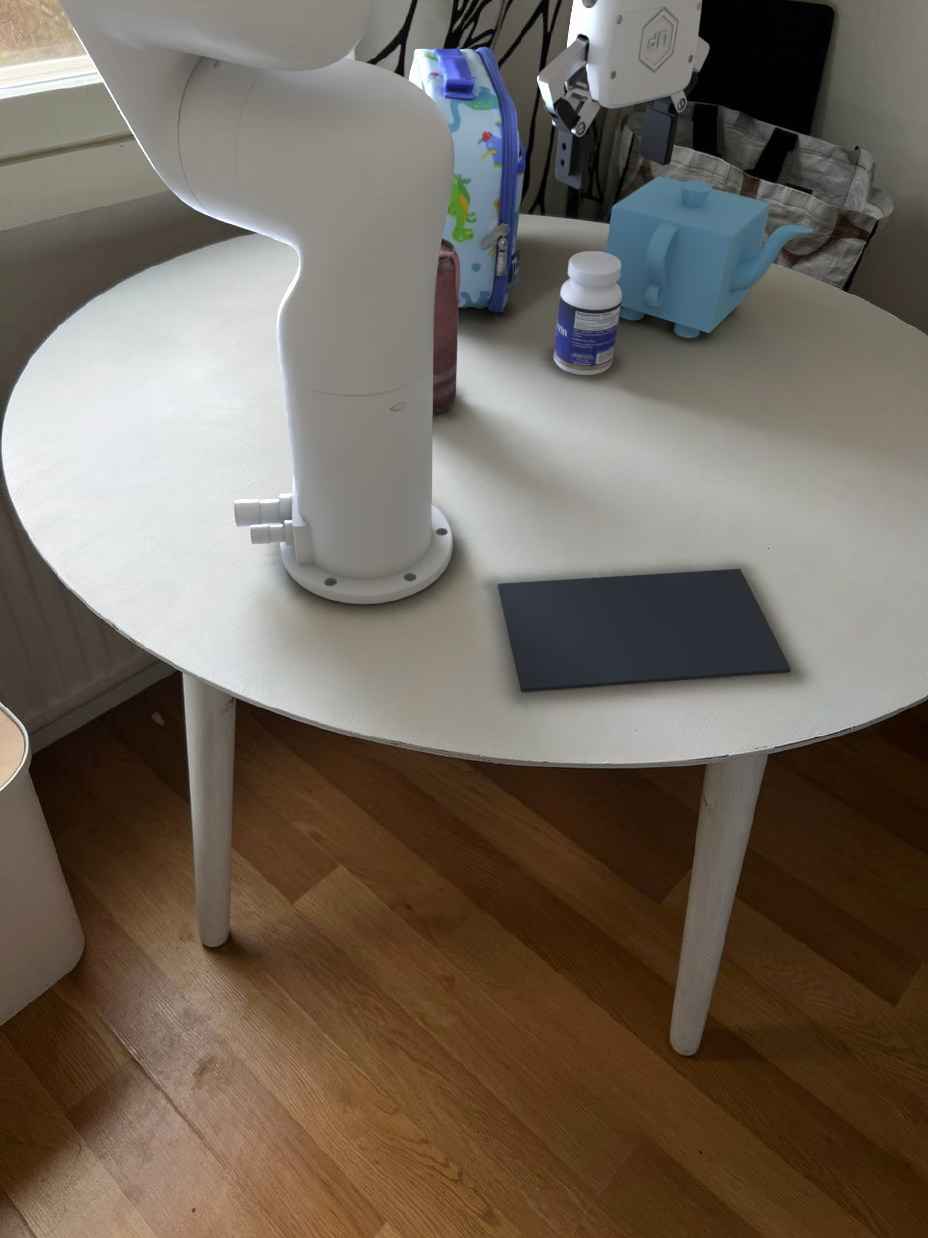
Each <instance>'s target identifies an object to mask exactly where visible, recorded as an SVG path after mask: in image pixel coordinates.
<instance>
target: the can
mask: <svg viewBox="0 0 928 1238" xmlns="http://www.w3.org/2000/svg"><path fill="white" fill-rule="evenodd" d="M459 287H460V261H459V258H458V255H457V253H456V251H455V247H454V245H453V244H452V243H451V242H449V241H447V240H445V239H443V238H442V241H441V247H440V253H439V260H438V268H437V276H436V288H435V301H434V334H433V418H434V417H439V416H440V415H444V414H445V413H446V412H448V411H449V410H450V408H451V407H452V406H453V405H454V403H455V401H456V398H457V377H458V376H457V373H458V372H457V371H458V370H457V367H458V337H459V336H458V334H459V307H458V302H459Z"/></svg>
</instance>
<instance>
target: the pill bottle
mask: <svg viewBox="0 0 928 1238" xmlns="http://www.w3.org/2000/svg"><path fill="white" fill-rule="evenodd" d="M620 273H621V262H620V260H619V259H618V258H617V257H615V256H613V255H611V254H609V253H606V251H605V252H604V251H599V250H586V251H580V252H577V253H575V254H573V255H571V256H570V258H569V260H568V265H567V275H568V277H569V278H567V280H565V282H564V283H563V284H562V286H561V288H560V291H559V300H558V309H557V320H556V329H555V338H554V347H553V360H554V363H555V364H556V365H557V366H558V367H559V368H560V369H561V370H563V371H565V372H567V373H569V374H573V375H578V376H595V375H599V374H602V373H604V372H605V371H607V370H608V369H609V368H610V367H611V365H612V363H613V359H614V354H615V346H616V340H617V333H618V327H619V320H620V315H619V314H620V311H621V309H622V308H621V307H622V306H621V301H622V291H621V289H620V287H619V285H618V284H617V283H616V281H618V280H619V278H620Z"/></svg>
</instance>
